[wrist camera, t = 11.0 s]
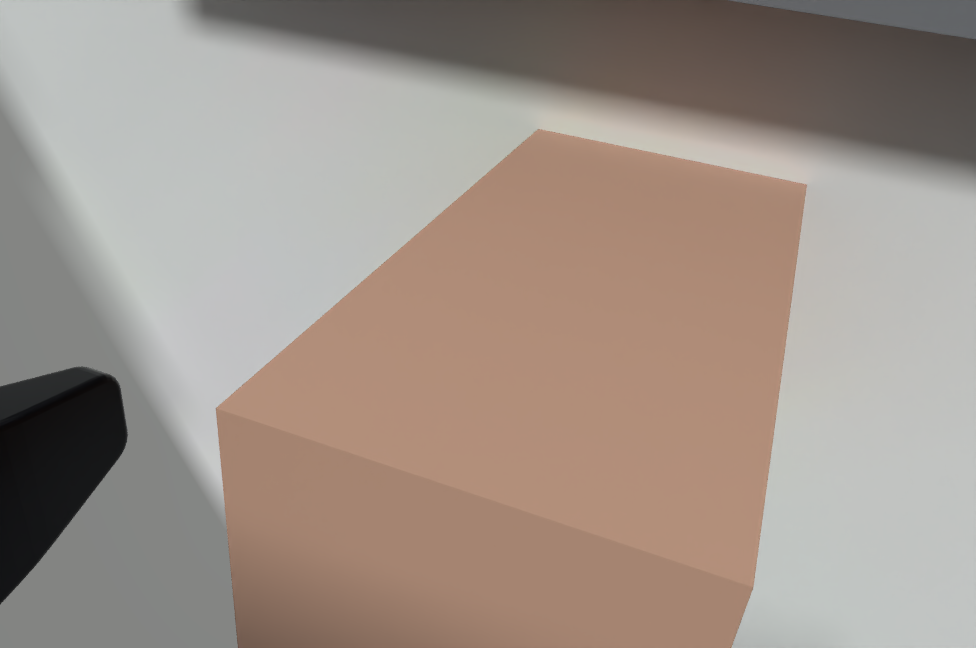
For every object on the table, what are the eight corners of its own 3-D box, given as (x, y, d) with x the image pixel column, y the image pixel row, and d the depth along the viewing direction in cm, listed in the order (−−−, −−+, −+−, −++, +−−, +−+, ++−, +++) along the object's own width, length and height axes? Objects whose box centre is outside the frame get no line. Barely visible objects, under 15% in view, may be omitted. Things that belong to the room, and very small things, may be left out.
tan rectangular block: (807, 184, 12) (753, 587, 5) (737, 411, 14) (636, 903, 7) (538, 129, 13) (216, 408, 6) (510, 348, 15) (245, 729, 8)
